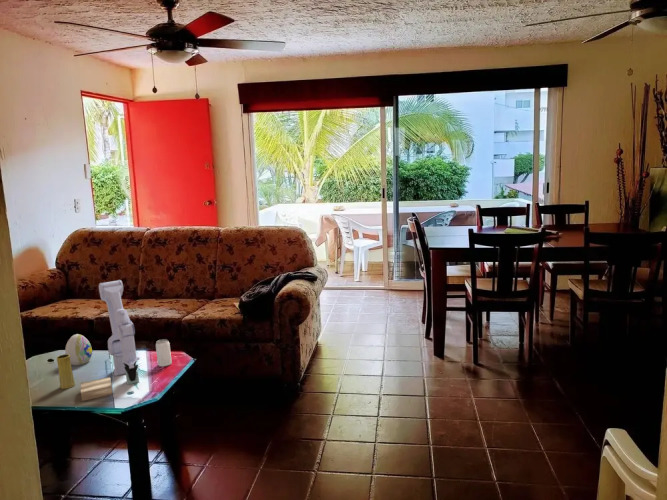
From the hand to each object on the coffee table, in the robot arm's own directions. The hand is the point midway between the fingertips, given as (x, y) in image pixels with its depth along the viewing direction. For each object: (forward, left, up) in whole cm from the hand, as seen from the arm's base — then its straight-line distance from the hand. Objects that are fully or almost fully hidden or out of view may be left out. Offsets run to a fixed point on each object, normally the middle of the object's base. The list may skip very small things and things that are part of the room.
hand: (132, 378), depth 238 cm
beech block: (+4, -15, -2) cm, 16 cm away
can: (-14, +16, -2) cm, 21 cm away
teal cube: (0, 0, -1) cm, 1 cm away
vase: (-12, -27, -2) cm, 30 cm away
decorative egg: (-44, -22, -2) cm, 49 cm away
